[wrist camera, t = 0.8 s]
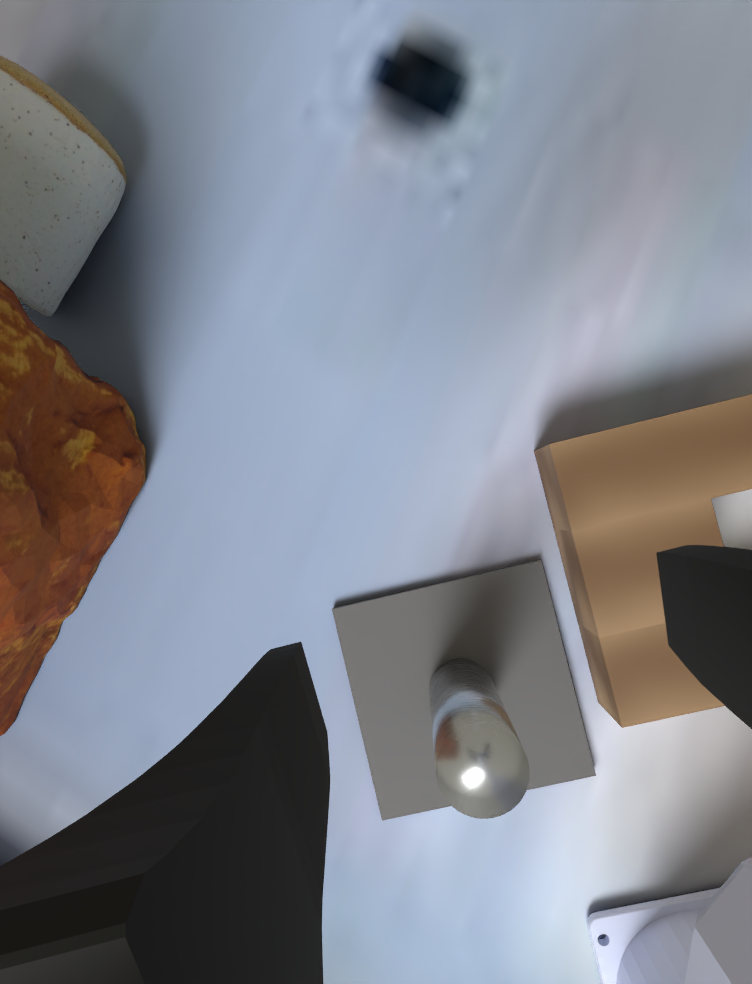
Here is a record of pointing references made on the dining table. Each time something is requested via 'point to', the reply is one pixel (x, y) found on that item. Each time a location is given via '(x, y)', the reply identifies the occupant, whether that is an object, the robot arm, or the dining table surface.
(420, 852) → the dining table surface
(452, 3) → the dining table surface
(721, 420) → the block
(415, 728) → the mat
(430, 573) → the dining table surface
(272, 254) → the dining table surface
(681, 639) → the robot arm
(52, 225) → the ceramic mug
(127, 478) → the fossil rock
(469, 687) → the peg
